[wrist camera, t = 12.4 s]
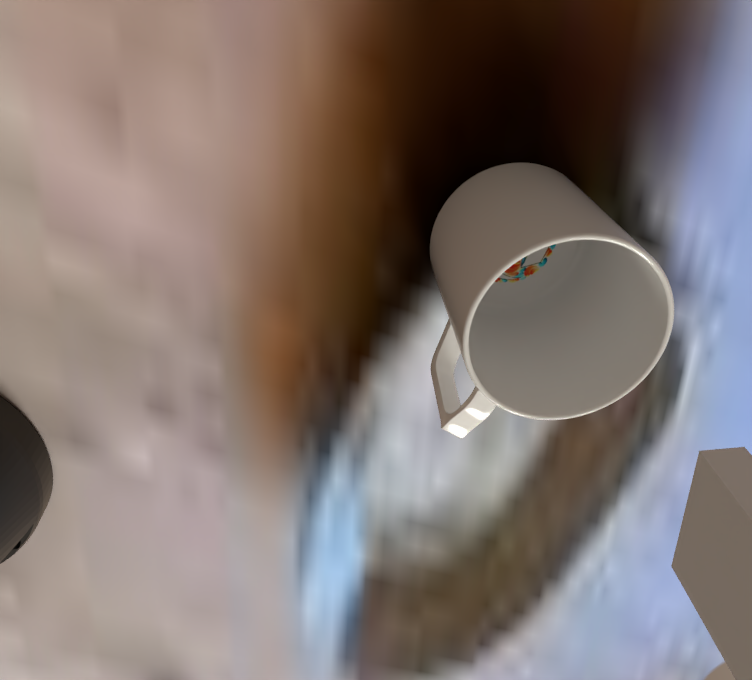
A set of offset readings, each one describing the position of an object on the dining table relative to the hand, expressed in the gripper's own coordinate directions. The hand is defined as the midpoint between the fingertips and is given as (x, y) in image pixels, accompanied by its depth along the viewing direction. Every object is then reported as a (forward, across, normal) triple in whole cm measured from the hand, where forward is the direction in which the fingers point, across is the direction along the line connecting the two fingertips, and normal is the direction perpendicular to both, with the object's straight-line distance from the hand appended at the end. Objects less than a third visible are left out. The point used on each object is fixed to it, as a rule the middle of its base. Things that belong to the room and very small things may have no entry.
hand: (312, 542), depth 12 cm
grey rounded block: (+27, +9, -7) cm, 29 cm away
